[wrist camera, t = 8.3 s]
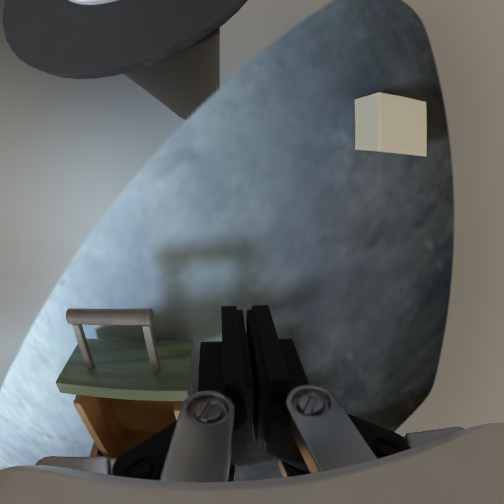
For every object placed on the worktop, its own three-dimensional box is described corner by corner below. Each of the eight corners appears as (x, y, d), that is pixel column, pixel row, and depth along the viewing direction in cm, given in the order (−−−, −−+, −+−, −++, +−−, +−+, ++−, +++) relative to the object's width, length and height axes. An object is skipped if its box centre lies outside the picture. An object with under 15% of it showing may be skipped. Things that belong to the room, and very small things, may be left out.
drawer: (66, 286, 24) (31, 324, 18) (185, 283, 25) (176, 328, 19) (116, 426, 30) (105, 468, 24) (207, 429, 31) (207, 476, 25)
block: (354, 149, 24) (379, 151, 20) (354, 99, 22) (379, 91, 18) (397, 153, 24) (426, 156, 20) (397, 106, 23) (426, 101, 19)
